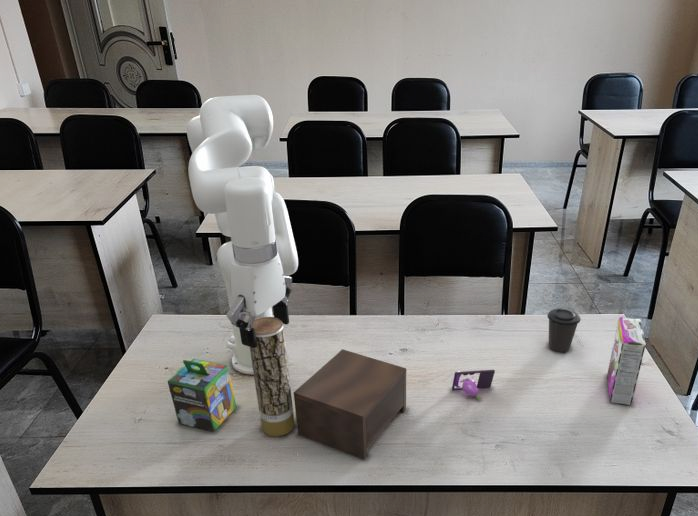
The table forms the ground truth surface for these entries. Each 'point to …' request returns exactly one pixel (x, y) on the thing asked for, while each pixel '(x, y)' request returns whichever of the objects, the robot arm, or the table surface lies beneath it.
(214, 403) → the chalk box
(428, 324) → the table surface
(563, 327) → the coffee cup
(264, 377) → the paper tube
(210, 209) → the robot arm
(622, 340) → the candy bar box
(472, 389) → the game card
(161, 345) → the table surface
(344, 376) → the walnut storage box
